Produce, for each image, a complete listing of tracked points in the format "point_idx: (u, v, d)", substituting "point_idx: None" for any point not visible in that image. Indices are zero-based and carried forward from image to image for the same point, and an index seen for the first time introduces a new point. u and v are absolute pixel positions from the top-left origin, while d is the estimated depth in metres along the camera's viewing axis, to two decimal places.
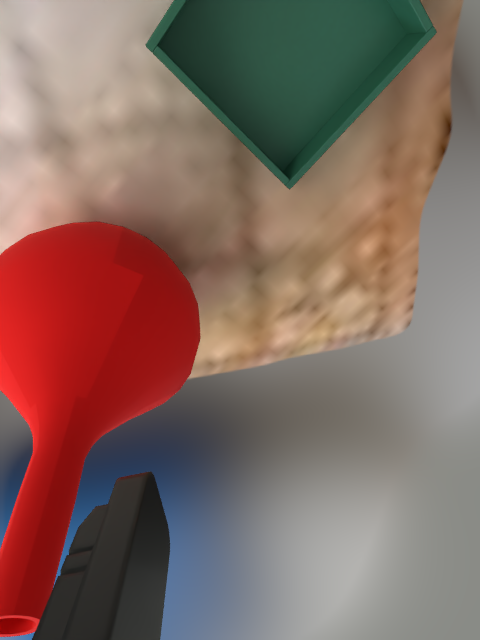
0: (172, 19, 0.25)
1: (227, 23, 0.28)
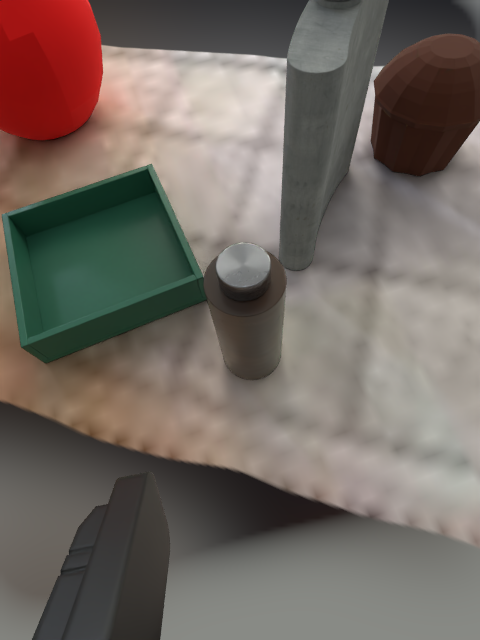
0: (153, 180, 0.36)
1: (141, 230, 0.37)
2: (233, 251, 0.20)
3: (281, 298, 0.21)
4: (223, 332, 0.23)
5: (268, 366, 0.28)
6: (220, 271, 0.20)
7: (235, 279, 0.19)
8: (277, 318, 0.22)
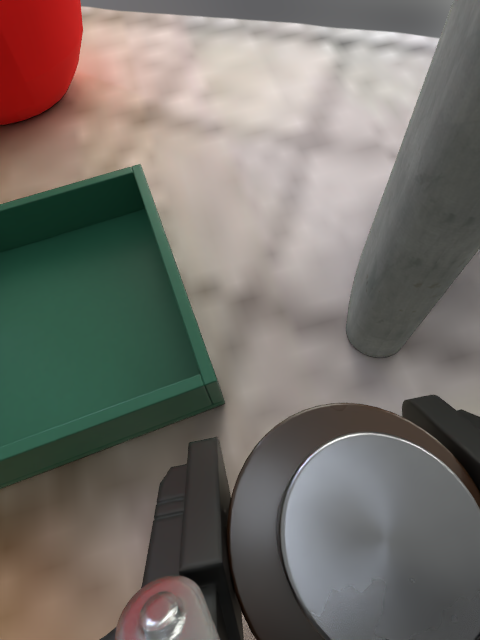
0: (140, 191, 0.22)
1: (117, 271, 0.23)
2: (342, 471, 0.06)
3: None
4: None
5: None
6: (299, 568, 0.05)
7: (364, 624, 0.05)
8: None
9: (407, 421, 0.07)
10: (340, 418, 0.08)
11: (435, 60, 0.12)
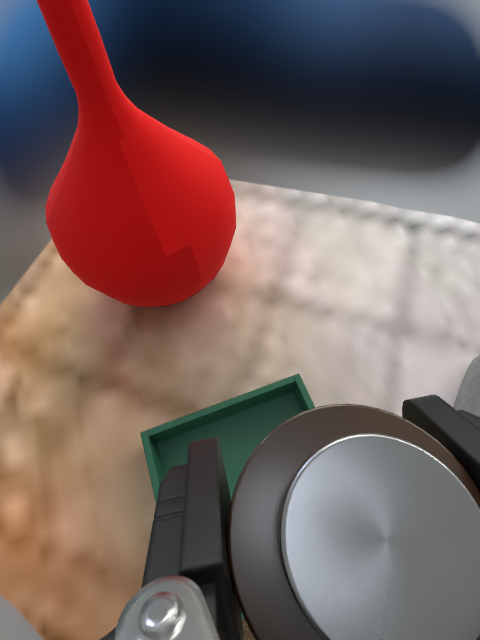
0: (304, 399, 0.33)
1: None
2: (343, 473, 0.06)
3: None
4: None
5: None
6: (300, 570, 0.05)
7: (365, 626, 0.05)
8: None
9: (408, 422, 0.07)
10: (340, 419, 0.08)
11: None
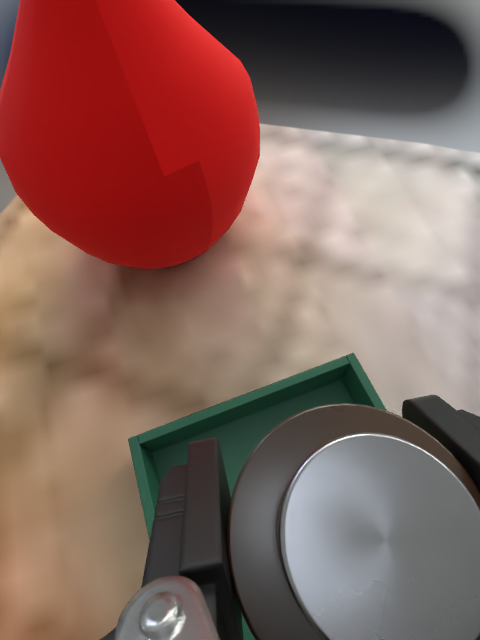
0: (365, 388, 0.23)
1: None
2: (342, 472, 0.06)
3: None
4: None
5: None
6: (299, 569, 0.05)
7: (364, 625, 0.05)
8: None
9: (407, 422, 0.07)
10: (340, 419, 0.08)
11: None
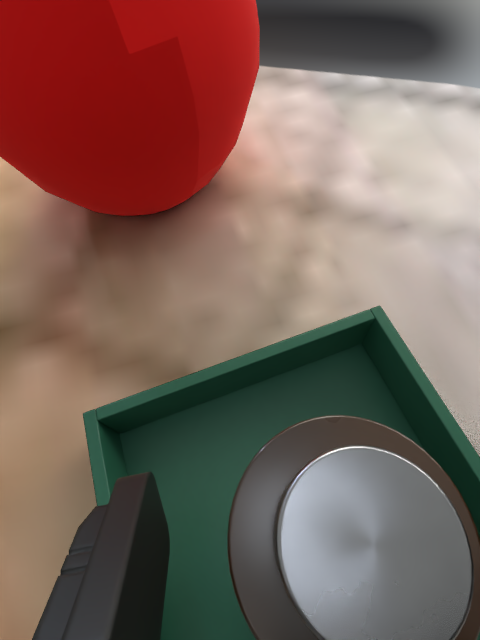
0: (396, 349, 0.17)
1: None
2: (334, 482, 0.06)
3: None
4: None
5: None
6: (294, 572, 0.06)
7: (352, 622, 0.05)
8: None
9: (397, 433, 0.08)
10: (334, 429, 0.08)
11: None
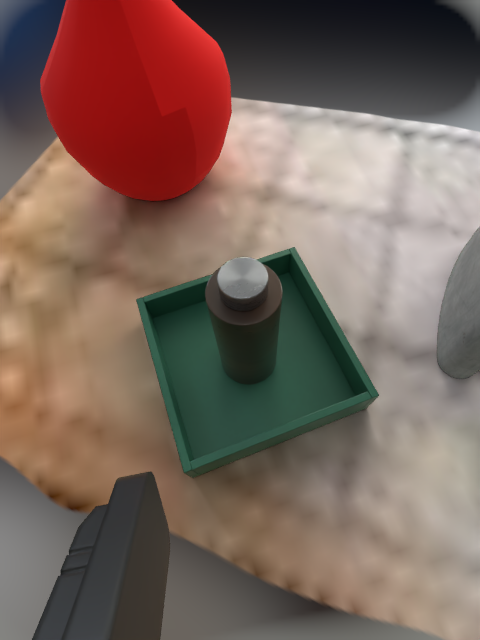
0: (300, 268, 0.33)
1: (280, 319, 0.34)
2: (234, 264, 0.22)
3: (276, 310, 0.22)
4: (221, 338, 0.25)
5: (263, 372, 0.30)
6: (221, 282, 0.21)
7: (234, 290, 0.21)
8: (272, 328, 0.24)
9: (262, 264, 0.24)
10: None
11: None
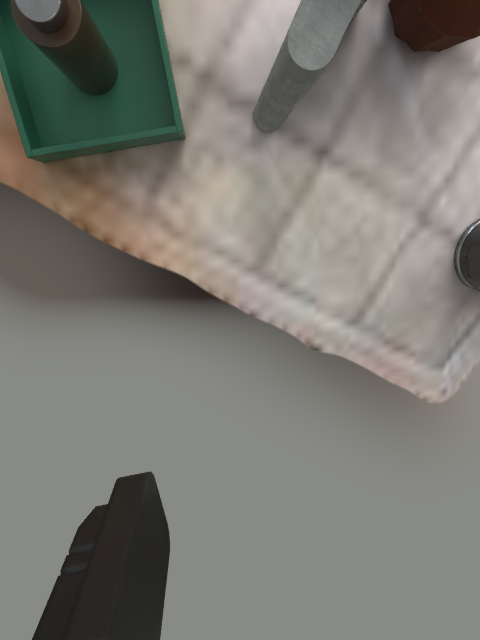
0: None
1: (127, 31, 0.36)
2: None
3: (75, 37, 0.27)
4: None
5: (98, 87, 0.35)
6: None
7: (28, 10, 0.25)
8: (80, 52, 0.28)
9: None
10: None
11: None
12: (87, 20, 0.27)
